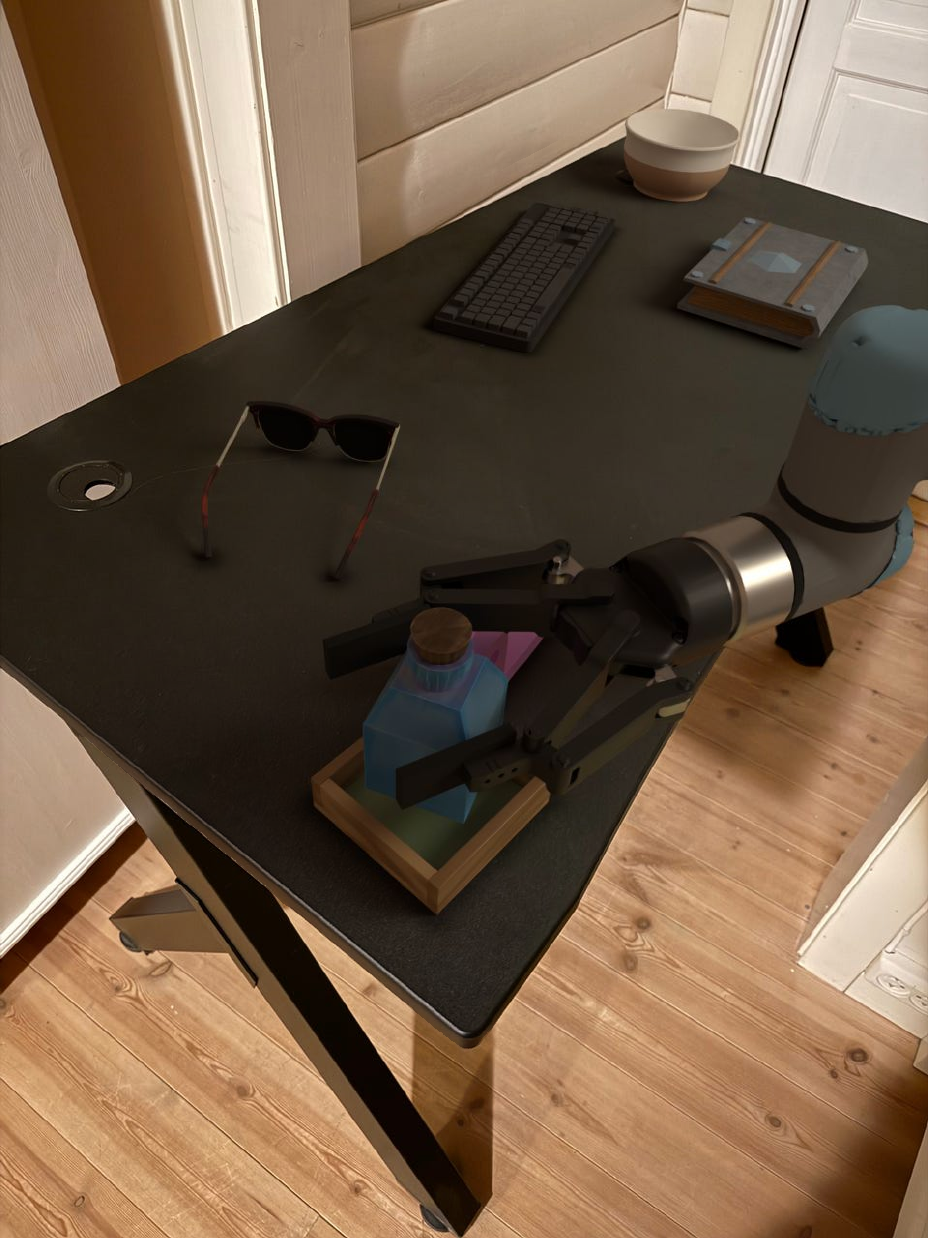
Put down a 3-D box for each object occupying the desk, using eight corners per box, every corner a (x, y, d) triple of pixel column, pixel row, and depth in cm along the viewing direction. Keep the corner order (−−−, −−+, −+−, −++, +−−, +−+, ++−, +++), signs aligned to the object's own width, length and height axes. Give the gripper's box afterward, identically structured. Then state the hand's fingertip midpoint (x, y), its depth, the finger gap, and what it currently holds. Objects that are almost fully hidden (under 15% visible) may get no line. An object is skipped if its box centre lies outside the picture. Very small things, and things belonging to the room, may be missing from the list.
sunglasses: (401, 463, 82) (400, 419, 78) (357, 593, 72) (354, 548, 68) (254, 442, 83) (246, 396, 79) (190, 566, 73) (178, 520, 69)
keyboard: (533, 211, 122) (535, 196, 121) (614, 229, 120) (617, 213, 119) (432, 329, 99) (433, 312, 98) (530, 353, 97) (532, 336, 95)
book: (811, 354, 100) (827, 312, 96) (672, 310, 105) (682, 268, 102) (859, 283, 113) (875, 244, 109) (733, 247, 118) (744, 208, 114)
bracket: (474, 724, 62) (480, 657, 57) (407, 688, 64) (408, 620, 59) (562, 613, 70) (575, 546, 65) (501, 584, 72) (508, 516, 67)
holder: (548, 801, 58) (555, 773, 56) (436, 915, 52) (438, 889, 50) (429, 710, 63) (430, 681, 60) (313, 806, 57) (310, 777, 55)
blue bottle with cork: (463, 823, 52) (477, 692, 43) (365, 787, 53) (359, 653, 44) (499, 742, 56) (518, 607, 47) (407, 710, 57) (409, 573, 49)
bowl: (665, 157, 139) (676, 101, 133) (748, 193, 131) (764, 134, 125) (592, 179, 132) (601, 120, 126) (676, 218, 123) (690, 156, 118)
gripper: (796, 758, 52) (451, 926, 44) (590, 534, 65) (293, 633, 57) (842, 674, 47) (459, 849, 39) (608, 448, 60) (282, 544, 51)
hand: (360, 721), depth 48 cm, fingers closed on blue bottle with cork, 9 cm apart
